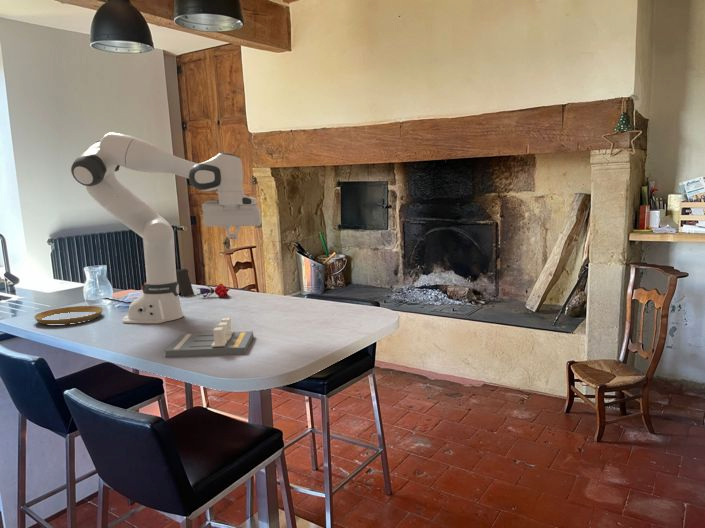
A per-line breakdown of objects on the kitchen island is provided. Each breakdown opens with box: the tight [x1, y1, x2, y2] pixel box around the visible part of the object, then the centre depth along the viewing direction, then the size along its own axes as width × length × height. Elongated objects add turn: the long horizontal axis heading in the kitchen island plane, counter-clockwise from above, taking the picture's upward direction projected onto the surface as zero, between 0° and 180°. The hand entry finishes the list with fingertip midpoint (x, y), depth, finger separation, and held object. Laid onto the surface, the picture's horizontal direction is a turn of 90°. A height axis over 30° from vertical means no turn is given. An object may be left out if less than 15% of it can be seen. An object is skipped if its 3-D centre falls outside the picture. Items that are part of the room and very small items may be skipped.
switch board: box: [164, 330, 254, 358], centre depth 173 cm, size 24×18×2 cm
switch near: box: [211, 327, 227, 347], centre depth 167 cm, size 4×4×5 cm
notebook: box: [112, 289, 139, 299], centre depth 253 cm, size 27×17×2 cm, turn 55°
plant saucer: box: [33, 305, 104, 325], centre depth 214 cm, size 24×24×3 cm
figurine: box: [196, 283, 231, 299], centre depth 248 cm, size 6×8×15 cm
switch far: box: [220, 317, 235, 335], centre depth 179 cm, size 4×4×5 cm
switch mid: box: [217, 321, 232, 341], centre depth 173 cm, size 4×4×5 cm
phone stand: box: [176, 268, 195, 297], centre depth 256 cm, size 9×6×12 cm, turn 56°
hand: (233, 238), depth 192 cm, fingers closed
